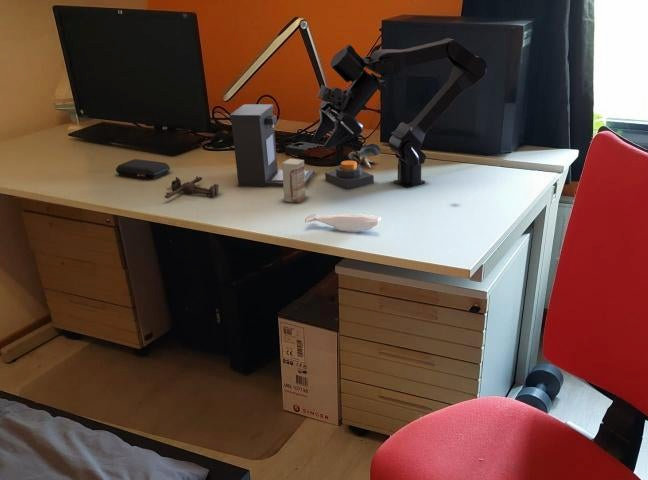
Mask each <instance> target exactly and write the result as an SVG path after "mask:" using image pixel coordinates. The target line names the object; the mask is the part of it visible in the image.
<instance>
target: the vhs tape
mask: <svg viewBox="0 0 648 480" xmlns="http://www.w3.org/2000/svg"><path fill="white" fill-rule="evenodd" d="M324 145H325V144H321V143H313V142H307V141H298V142H294V143H292V144H290V145H286V146H284V152H285V154H289V155H295V156H299V157H306V158H312V157H313V156H309V155H307V154H305V153H301V152H302V151H304V150H307V149H308V148H313V147H317V146H324Z"/></svg>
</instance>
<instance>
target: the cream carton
mask: <svg viewBox="0 0 648 480" xmlns="http://www.w3.org/2000/svg"><path fill="white" fill-rule="evenodd" d="M281 169H282V171H283V187H282V188H283V201H284V202H288V203H295V204H296V203H297V204H298V203H301V202H302V201H304V200H305V199H306V197H307V195H306V194H307V192H306V186H305V170H306V169H305V159H300V158H299V159H298V158H288V159H286V160H284V161H282V163H281Z"/></svg>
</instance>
